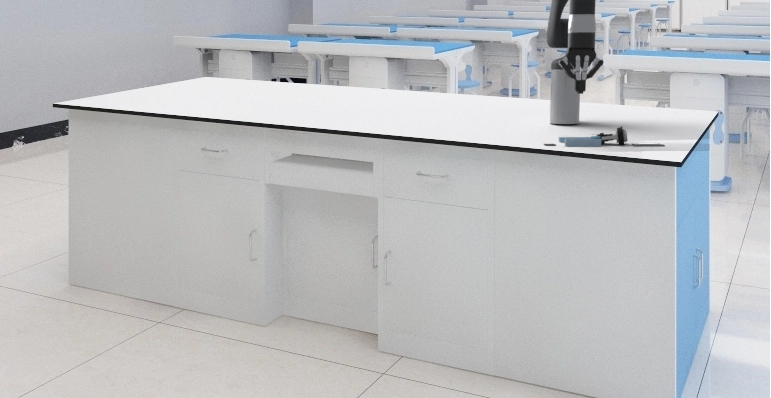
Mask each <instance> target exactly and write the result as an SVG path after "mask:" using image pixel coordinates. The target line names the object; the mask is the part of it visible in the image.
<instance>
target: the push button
mask: <svg viewBox="0 0 771 398" xmlns="http://www.w3.org/2000/svg"><path fill="white" fill-rule="evenodd" d="M614 132H615V133H605V134H604V132H600V133H596V134H595V133H591V134H590V137H591V139H601V145H602V144H603V145H604V144H606V143H607V142H610V141H611V142H612V141H615V140H616V143H617V144H618V145H619V146H620V145H621V146H622V145H623V146H625V143H626V142H628V133H627V132H628V131H627V128H623V126H622V125H621V126H620V127H616V129H615V131H614ZM605 142H606V143H605Z"/></svg>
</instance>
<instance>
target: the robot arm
mask: <svg viewBox="0 0 771 398" xmlns="http://www.w3.org/2000/svg"><path fill="white" fill-rule="evenodd" d="M596 1H597V0H551V4H550V10H549V16H548V21H547V22H548V23H547V30H546V42H547V46H548V47H549V48H551V49H567V51H566V52H565V54H564V56H562V57H560V58H557V59H554V60H552V61H551V64H550V103H549V106H550V107H549V108H550V109H549V124H554V125H556V124H557V125H578V124H580V109H581V107H580V105H581V104H580V103H581V102H580V101H581V100H580V98H581V95H583V94H584V92H586V87H587V86H586V85H587V82H586V81H587V80H588V79H591V78H593V77H594V76H595V74H596V73H597V72H598V70H599V69H600V68H601V67H602V66H603V64H604V60H603V59H600V58H599V57H598V56H597V52H596V31H597V30H596V29H597V27H596V24H597V23H596ZM567 3H569V12H568V13H569V15H568V16H569V17H568V18H562V15H563V12H564V9H565V7H566V5H567ZM592 63H593V66H592V67H591V69H590V70H589V71H588V69H589V67H590V66H591V64H592Z"/></svg>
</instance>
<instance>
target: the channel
mask: <svg viewBox="0 0 771 398" xmlns="http://www.w3.org/2000/svg"><path fill="white" fill-rule="evenodd" d="M557 141H558V142H559V143H564V147H602V144H601V139H591V136H559V137H558V140H557Z"/></svg>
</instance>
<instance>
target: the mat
mask: <svg viewBox="0 0 771 398" xmlns="http://www.w3.org/2000/svg"><path fill="white" fill-rule="evenodd" d="M631 145H632V146H633V147H665V144H662V143H658V144H639V143H631Z"/></svg>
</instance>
